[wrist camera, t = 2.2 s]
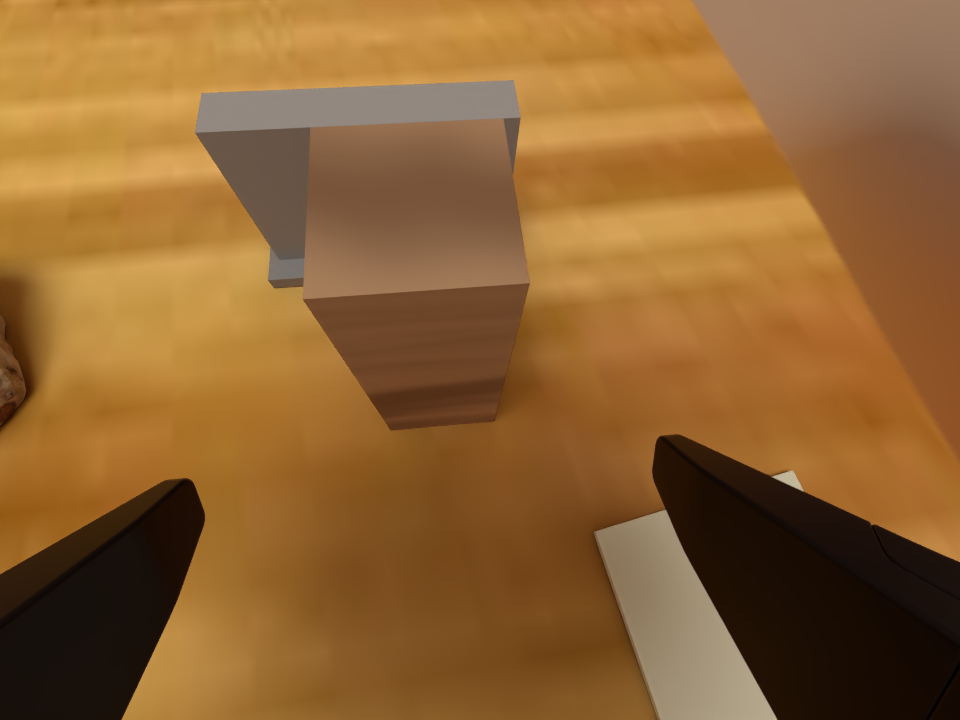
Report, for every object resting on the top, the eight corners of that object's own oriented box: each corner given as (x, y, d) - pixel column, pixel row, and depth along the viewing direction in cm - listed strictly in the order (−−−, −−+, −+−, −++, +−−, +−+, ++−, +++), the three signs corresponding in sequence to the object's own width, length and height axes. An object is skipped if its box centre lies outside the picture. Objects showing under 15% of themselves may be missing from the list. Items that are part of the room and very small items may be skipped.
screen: (274, 288, 25) (176, 158, 16) (278, 220, 26) (191, 71, 18) (513, 271, 26) (537, 140, 17) (504, 207, 27) (522, 58, 19)
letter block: (494, 420, 22) (529, 282, 10) (391, 430, 22) (302, 299, 10) (483, 323, 24) (502, 110, 12) (388, 330, 24) (310, 119, 12)
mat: (592, 531, 21) (595, 531, 20) (787, 471, 22) (792, 470, 22) (687, 805, 17) (692, 811, 17) (911, 714, 19) (920, 718, 18)
